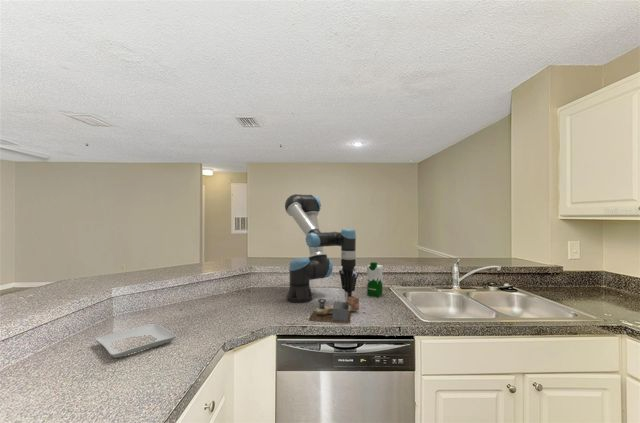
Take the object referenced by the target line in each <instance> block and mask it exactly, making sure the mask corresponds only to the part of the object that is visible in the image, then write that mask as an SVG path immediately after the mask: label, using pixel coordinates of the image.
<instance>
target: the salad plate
mask: <svg viewBox="0 0 640 423" xmlns="http://www.w3.org/2000/svg"><path fill="white" fill-rule="evenodd" d="M144 335H152V336H153V337H155V338H157V340H156V342H152V343H149V344H145V345H142V346H139V347H136V348H132V349H129V350H126V351H123V352H120V351H119V352H118V350H117V349H113V348H112V347H111V346H113V345H114V344H115V342H114V341H117V340H120V339H123V338H127V337H131V336H132V337H134V336H135V337H138V336H144ZM176 337H178V336H177V334H176V333H173V331H171V330H169V329H167V328H165V327H163V326H161V325H160V324H158V323H156V322H154V323H153V322H152V323H150V324H145V325H142V326H137V327H133V328H128V329H125V330H121V331H117V332H113V333H110V334H106V335H102V336H101V335H100V336H99V337H96V338H95V342H96V343H97V344H99V345H100V346H101V347H103V348H104V349H105V350H106V351H107V352H108V354H109V355H110V356H111V357H112V358H123V357H122V356H124V357H126V356H125V355H128V354H131V353H134V352H138V351H141V350H144V349H147V348H150V349H152V348H151V347H154V346H157V347H159V346H158V345H160V346H162V345H165V344H168V343H170V342H171V341H173V340H175V339H176ZM111 342H114V343H113V345H112V343H111ZM164 343H165V344H164ZM161 344H162V345H161ZM154 348H155V347H154ZM147 350H148V349H147ZM144 351H145V350H144ZM141 352H142V351H141ZM138 353H139V352H138ZM128 356H129V355H128Z"/></svg>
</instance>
